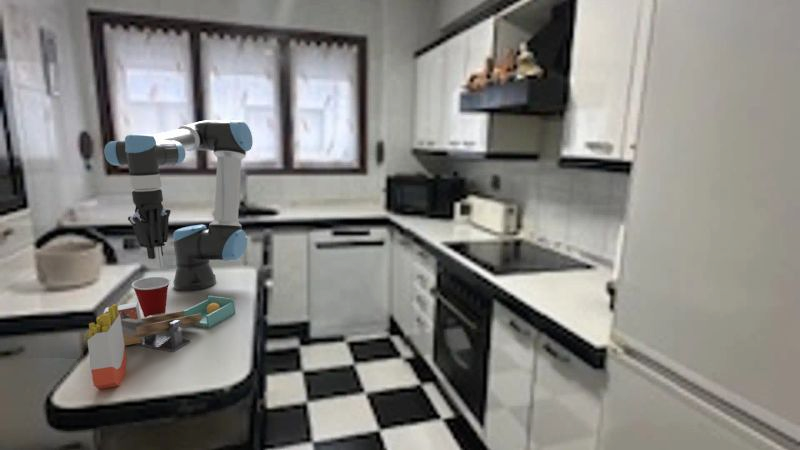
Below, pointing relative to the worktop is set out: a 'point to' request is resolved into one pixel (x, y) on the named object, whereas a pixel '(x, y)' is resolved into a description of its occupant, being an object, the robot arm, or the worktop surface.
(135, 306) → the small box
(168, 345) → the stand
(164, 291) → the plastic cup
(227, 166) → the robot arm
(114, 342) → the french fries container
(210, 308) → the ball
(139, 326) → the lever
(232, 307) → the tray
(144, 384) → the worktop surface
